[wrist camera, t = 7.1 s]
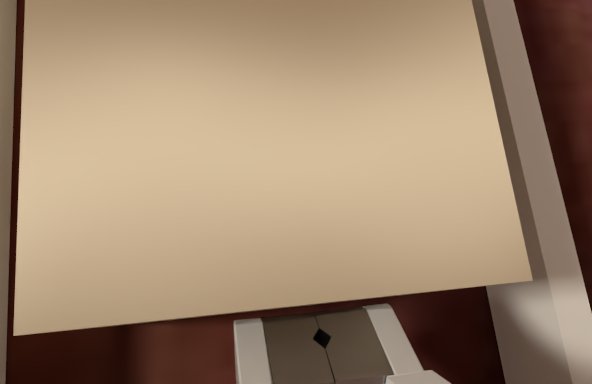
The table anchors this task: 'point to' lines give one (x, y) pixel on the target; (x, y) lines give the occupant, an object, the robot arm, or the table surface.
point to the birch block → (254, 158)
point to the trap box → (528, 195)
